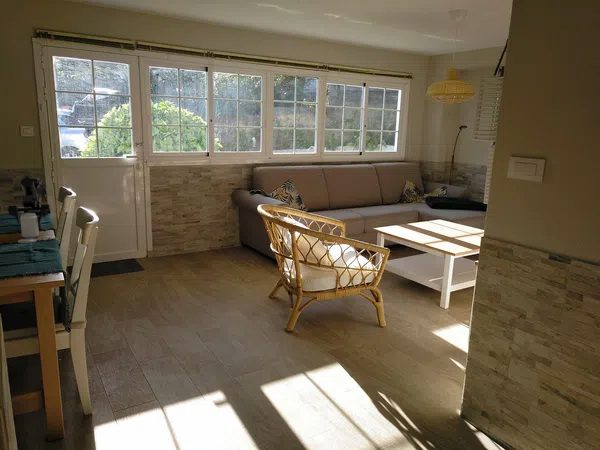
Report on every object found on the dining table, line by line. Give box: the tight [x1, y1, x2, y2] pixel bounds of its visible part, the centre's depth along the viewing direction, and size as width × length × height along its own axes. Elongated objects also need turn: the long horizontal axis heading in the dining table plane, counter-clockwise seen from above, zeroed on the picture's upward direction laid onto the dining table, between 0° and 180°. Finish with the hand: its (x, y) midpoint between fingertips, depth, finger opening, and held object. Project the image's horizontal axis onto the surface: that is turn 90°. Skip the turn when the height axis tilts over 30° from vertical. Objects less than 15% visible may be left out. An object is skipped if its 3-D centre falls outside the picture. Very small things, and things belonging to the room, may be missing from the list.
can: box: [19, 212, 40, 239], centre depth 232 cm, size 8×8×12 cm
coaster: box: [17, 237, 38, 245], centre depth 224 cm, size 8×8×1 cm
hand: (29, 223), depth 231 cm, fingers open, 9 cm apart
